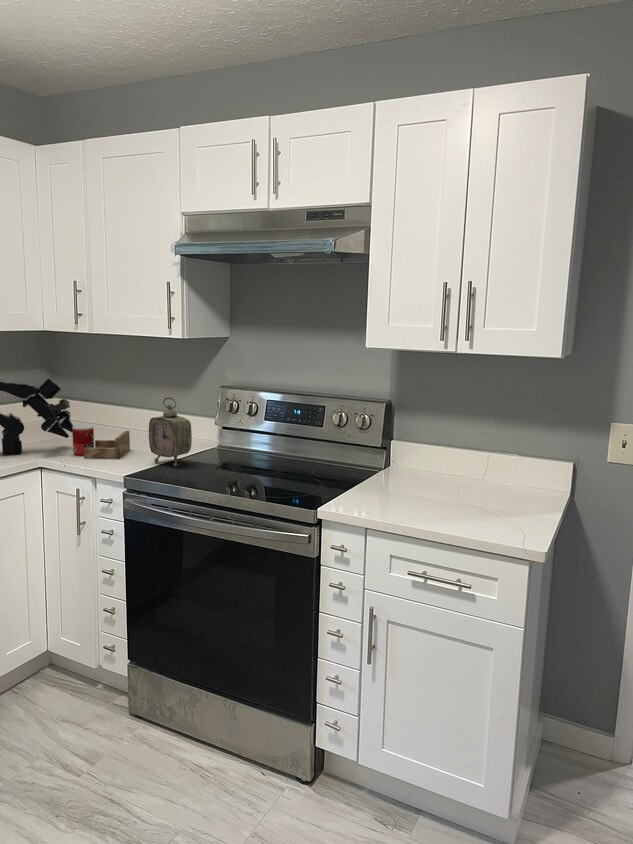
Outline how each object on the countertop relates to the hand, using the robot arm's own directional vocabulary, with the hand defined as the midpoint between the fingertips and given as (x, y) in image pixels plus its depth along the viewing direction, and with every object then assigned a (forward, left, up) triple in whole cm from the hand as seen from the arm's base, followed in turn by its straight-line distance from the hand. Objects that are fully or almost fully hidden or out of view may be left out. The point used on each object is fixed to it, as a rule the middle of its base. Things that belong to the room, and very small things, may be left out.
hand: (72, 434), depth 256 cm
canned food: (+4, -6, -7) cm, 10 cm away
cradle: (+12, -9, -7) cm, 16 cm away
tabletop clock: (+34, -33, -7) cm, 47 cm away
